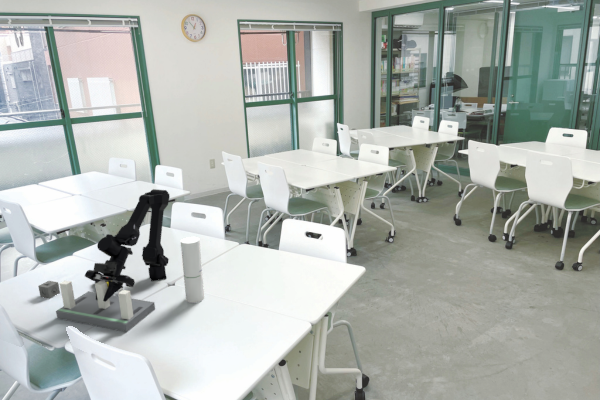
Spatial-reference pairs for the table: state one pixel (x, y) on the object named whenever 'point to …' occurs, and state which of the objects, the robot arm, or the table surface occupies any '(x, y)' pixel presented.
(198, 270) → the cylindrical container
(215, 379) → the table surface
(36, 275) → the table surface
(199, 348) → the table surface
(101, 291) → the handle
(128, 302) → the slotted peg board
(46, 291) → the dice cube
